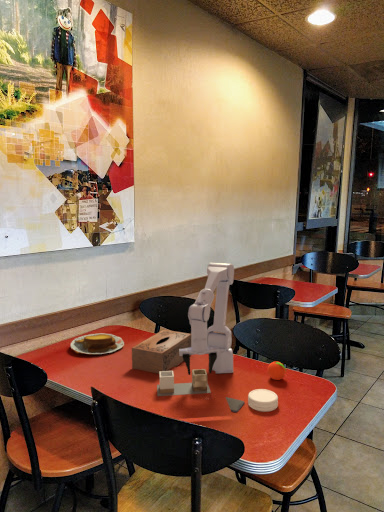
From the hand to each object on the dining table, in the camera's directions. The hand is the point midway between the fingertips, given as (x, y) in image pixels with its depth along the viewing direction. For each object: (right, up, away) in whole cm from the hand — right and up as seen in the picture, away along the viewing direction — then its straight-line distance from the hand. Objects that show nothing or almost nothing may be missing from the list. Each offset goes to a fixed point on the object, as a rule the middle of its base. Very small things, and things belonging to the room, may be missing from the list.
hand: (199, 373), depth 147 cm
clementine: (+30, -5, +9) cm, 32 cm away
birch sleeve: (0, -6, +1) cm, 6 cm away
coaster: (+21, -8, -10) cm, 25 cm away
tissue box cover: (-15, -4, +27) cm, 31 cm away
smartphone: (+7, -8, -8) cm, 14 cm away
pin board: (-6, -7, 0) cm, 9 cm away
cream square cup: (-12, -6, -1) cm, 13 cm away
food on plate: (-48, -2, +46) cm, 67 cm away
